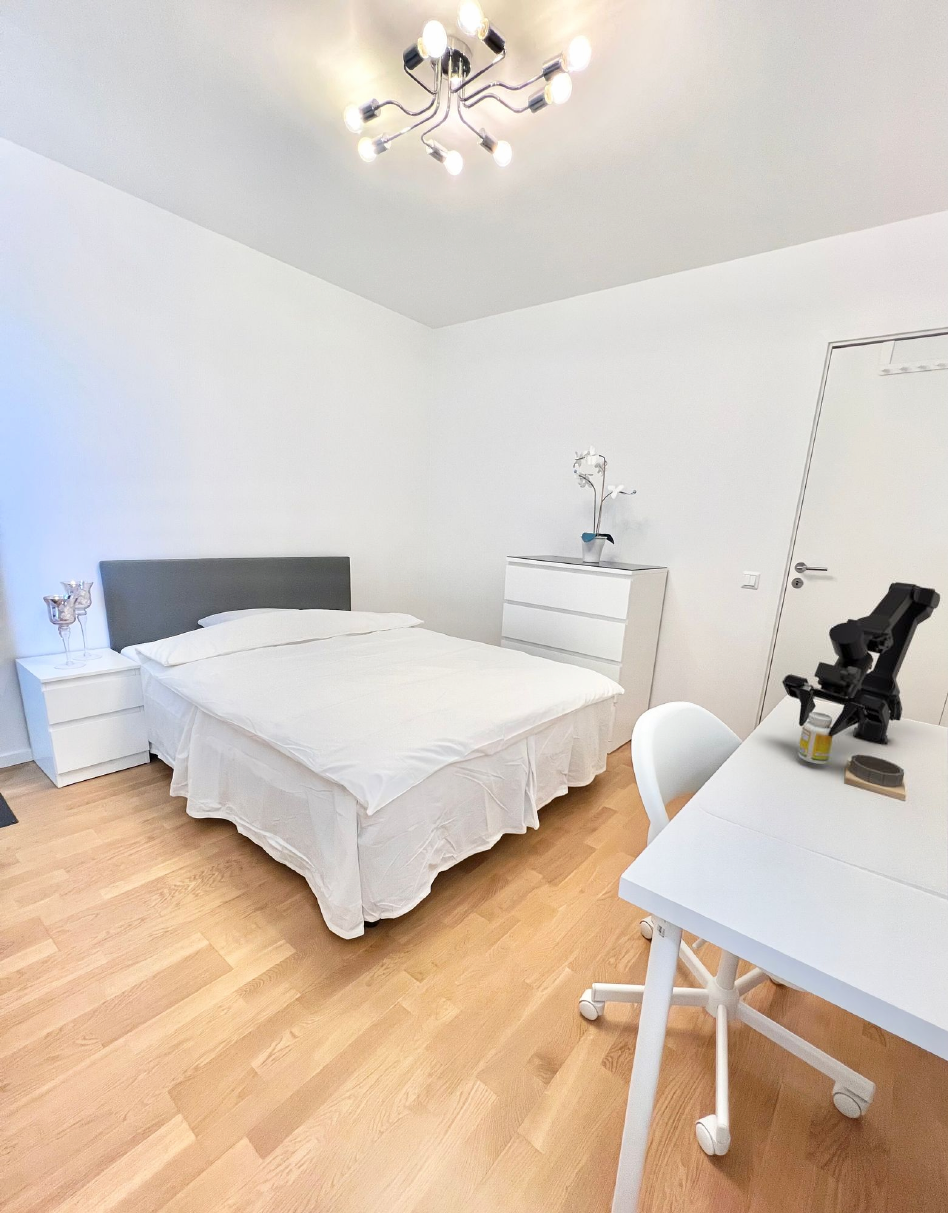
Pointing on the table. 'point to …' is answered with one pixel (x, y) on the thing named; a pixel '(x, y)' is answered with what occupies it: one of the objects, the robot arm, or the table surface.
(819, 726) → the supplement bottle
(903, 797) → the ring holder
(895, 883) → the table surface
